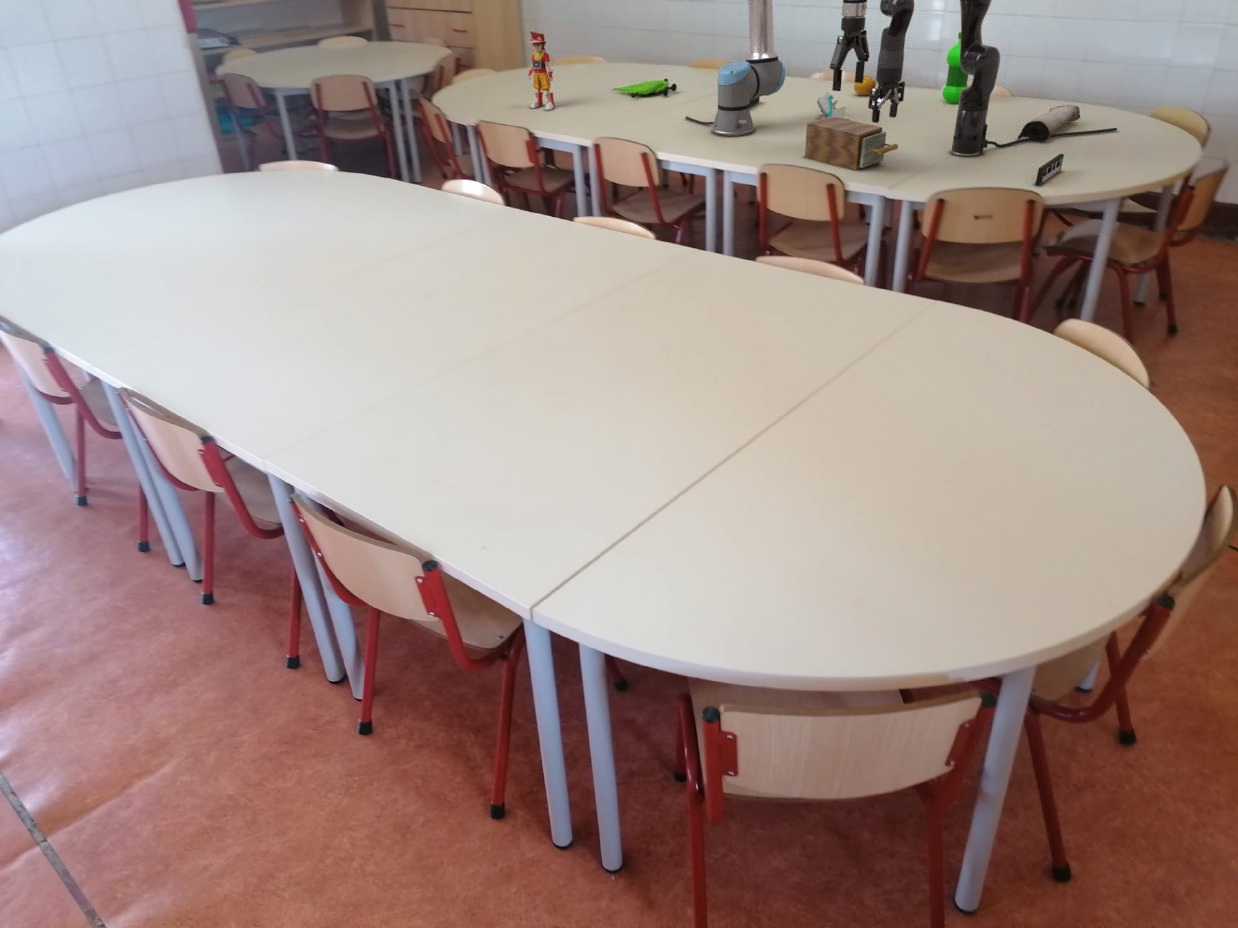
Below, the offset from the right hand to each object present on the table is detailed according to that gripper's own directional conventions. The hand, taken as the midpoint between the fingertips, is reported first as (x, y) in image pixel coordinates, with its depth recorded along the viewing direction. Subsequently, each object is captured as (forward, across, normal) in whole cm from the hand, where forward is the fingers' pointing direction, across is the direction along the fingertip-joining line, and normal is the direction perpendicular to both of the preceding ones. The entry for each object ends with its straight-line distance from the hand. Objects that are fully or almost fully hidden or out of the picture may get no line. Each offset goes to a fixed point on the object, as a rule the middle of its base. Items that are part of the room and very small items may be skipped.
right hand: (884, 120), depth 282 cm
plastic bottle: (+15, +88, +32) cm, 95 cm away
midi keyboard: (+15, +26, -43) cm, 53 cm away
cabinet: (+15, 0, +16) cm, 22 cm away
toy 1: (+15, -25, +158) cm, 160 cm away
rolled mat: (+15, +73, -16) cm, 76 cm away
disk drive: (+15, +30, +94) cm, 100 cm away
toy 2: (+15, +20, +146) cm, 148 cm away
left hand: (-5, +10, +24) cm, 26 cm away
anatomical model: (+15, +38, +53) cm, 67 cm away
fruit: (+15, +76, +67) cm, 102 cm away
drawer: (+14, 0, +10) cm, 17 cm away
